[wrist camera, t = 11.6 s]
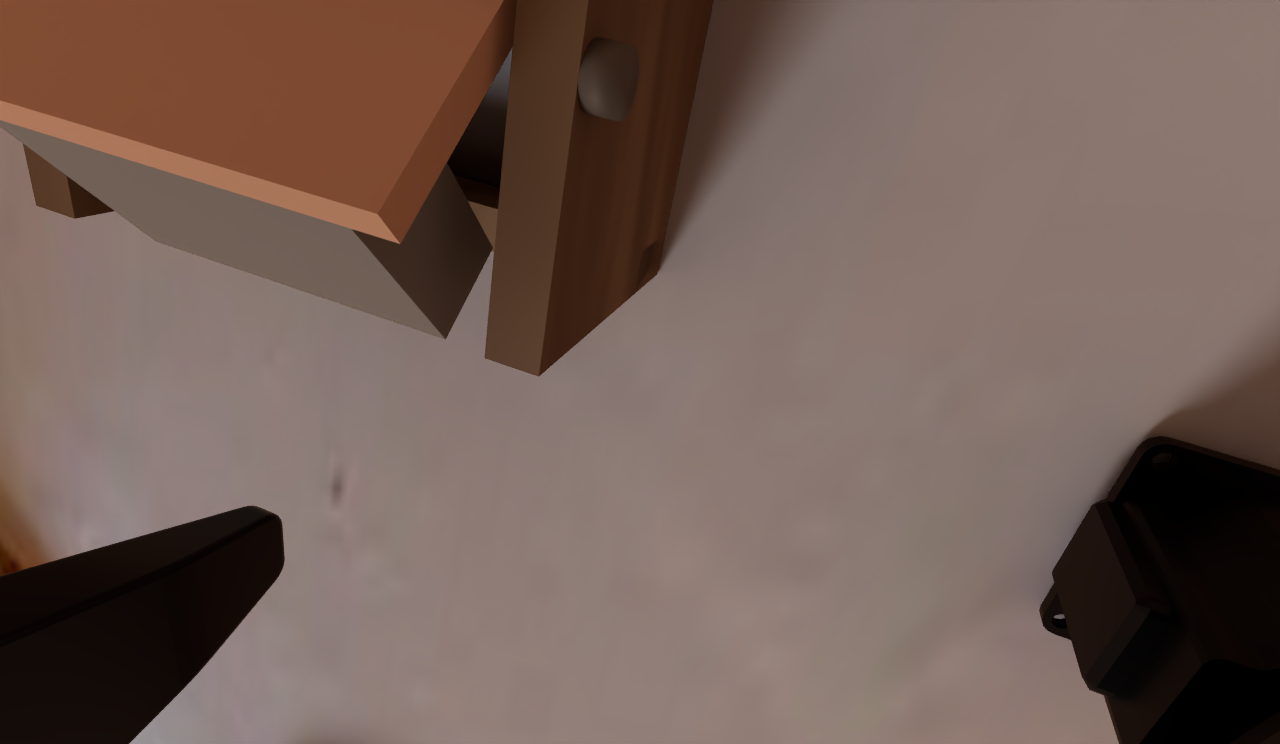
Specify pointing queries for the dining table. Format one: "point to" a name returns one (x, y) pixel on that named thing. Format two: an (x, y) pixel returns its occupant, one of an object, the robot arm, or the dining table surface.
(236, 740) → the dining table surface
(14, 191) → the dining table surface
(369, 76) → the trapdoor
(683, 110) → the trapdoor frame
